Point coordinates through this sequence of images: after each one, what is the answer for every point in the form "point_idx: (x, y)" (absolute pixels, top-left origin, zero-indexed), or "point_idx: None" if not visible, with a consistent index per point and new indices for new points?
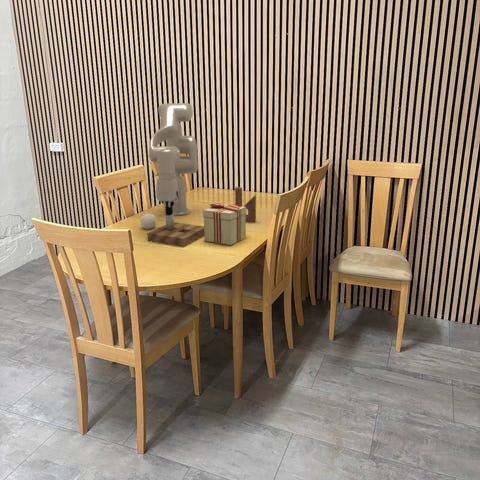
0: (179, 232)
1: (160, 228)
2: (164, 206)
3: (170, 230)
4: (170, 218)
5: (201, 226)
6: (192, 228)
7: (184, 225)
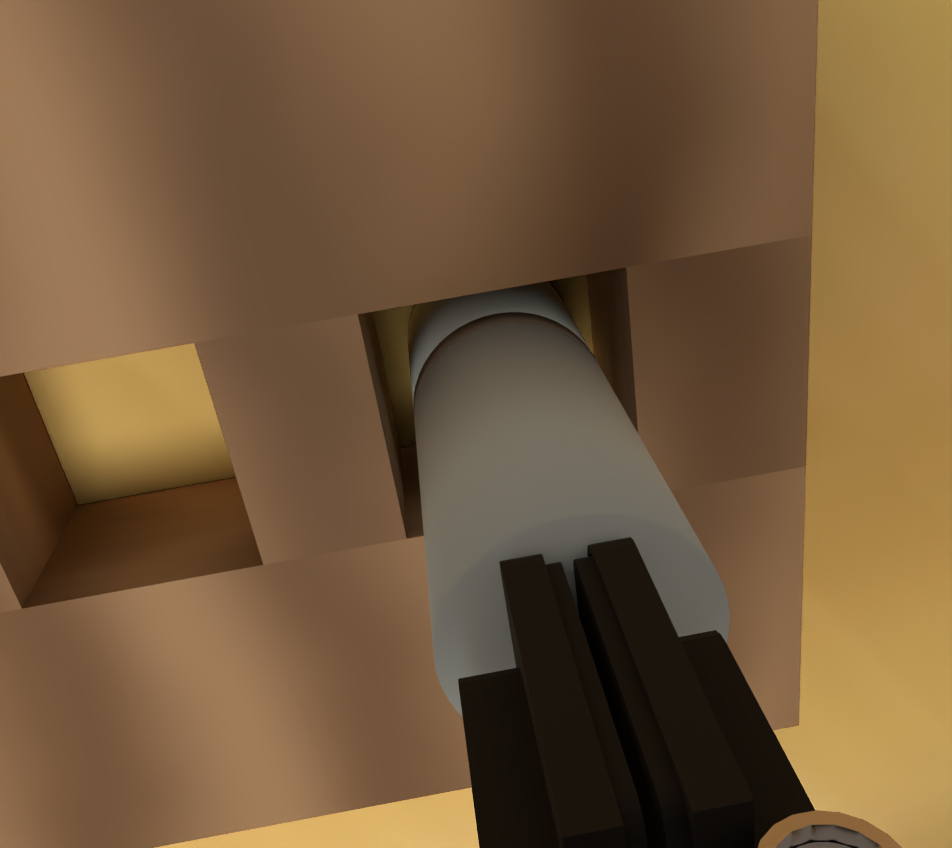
0: (87, 331)
1: (736, 297)
2: (851, 823)
3: (437, 345)
4: (449, 526)
5: (78, 841)
6: (107, 681)
7: (412, 716)
